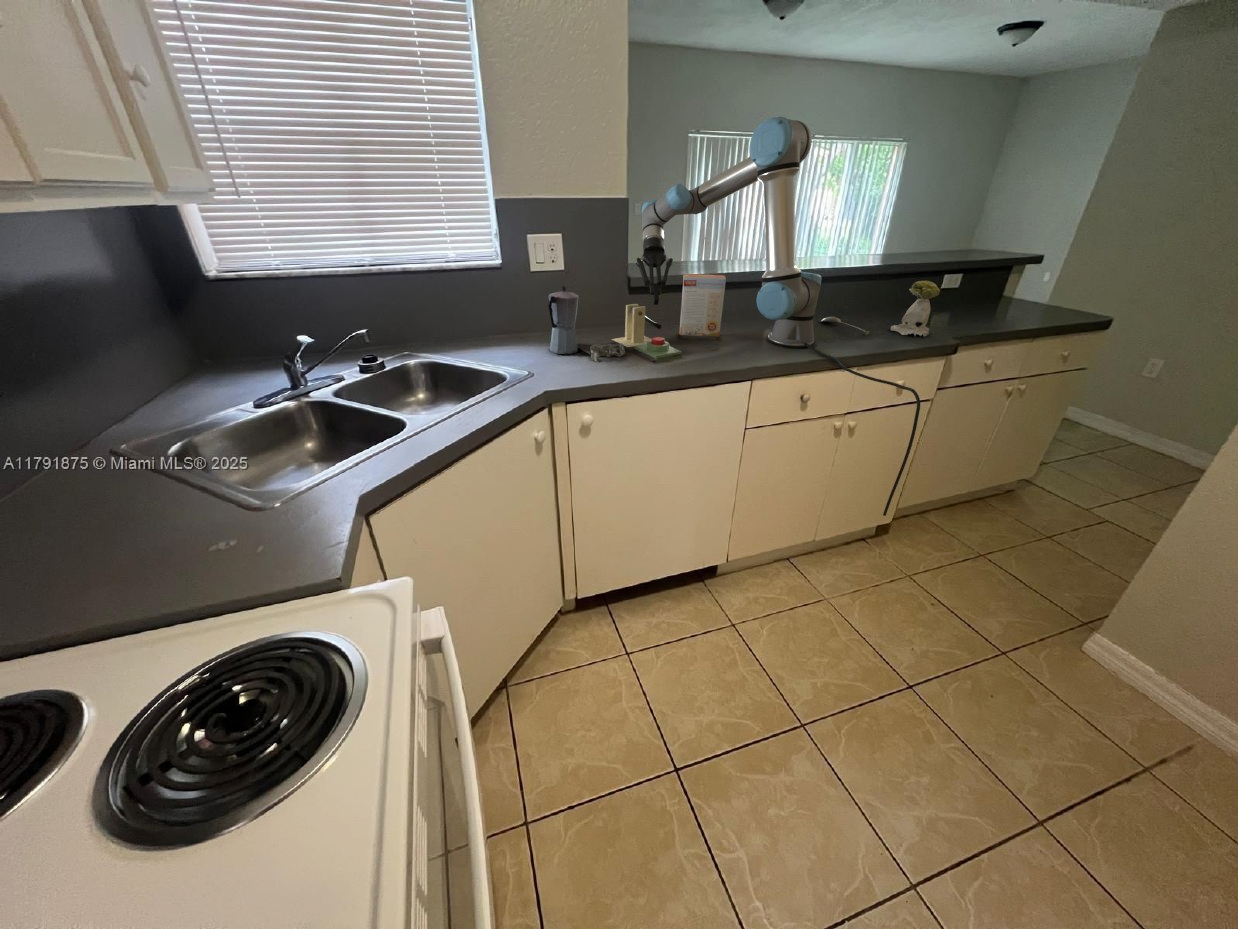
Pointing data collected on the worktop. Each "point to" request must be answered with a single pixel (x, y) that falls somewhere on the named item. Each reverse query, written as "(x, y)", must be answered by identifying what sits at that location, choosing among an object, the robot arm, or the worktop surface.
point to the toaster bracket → (634, 327)
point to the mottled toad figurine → (599, 351)
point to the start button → (658, 341)
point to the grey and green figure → (918, 309)
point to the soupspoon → (843, 323)
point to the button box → (659, 351)
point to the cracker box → (702, 304)
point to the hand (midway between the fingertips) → (656, 302)
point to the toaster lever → (648, 320)
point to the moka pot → (563, 321)
